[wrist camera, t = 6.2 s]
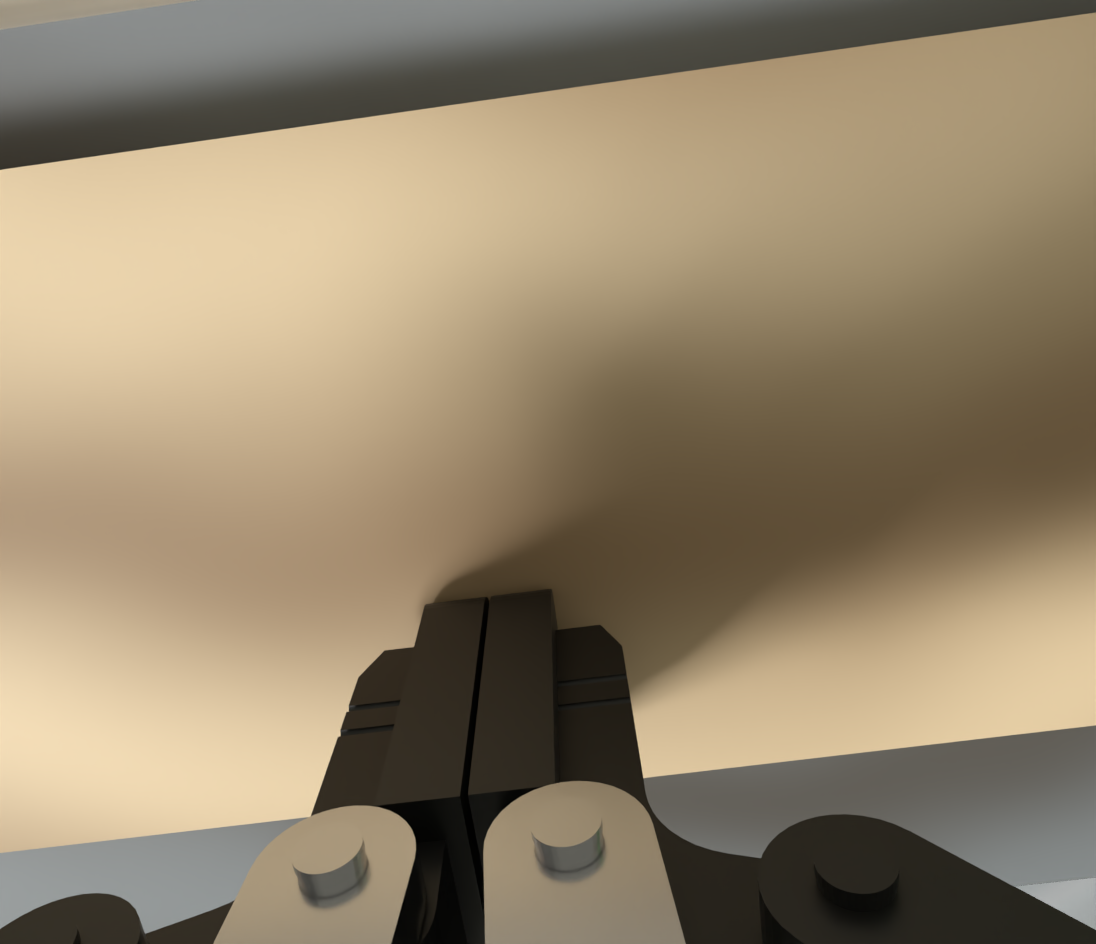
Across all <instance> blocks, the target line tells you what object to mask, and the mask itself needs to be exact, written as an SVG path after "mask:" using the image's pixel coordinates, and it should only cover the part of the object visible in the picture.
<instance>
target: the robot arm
mask: <svg viewBox="0 0 1096 944" xmlns="http://www.w3.org/2000/svg"><path fill="white" fill-rule="evenodd" d="M340 733H341V736H340V737H338V738H337V741H336V744H335V747H334V750H333V753H332V756H331V758H330V761H329V764H328V767H327V770H326V773H325V776H324V779H323V782H322V785H321V788H320V791H319V793H318V796H317V799H316V802H315V805H314V808H313V811H312V814H311V816H310V817H308V818H306V819H304V820H302V821H300V822H298V823H296V824H295V825H293V826H291V827H290V828H288V829H286V830H285V831H284V832H282V833H281V834H280V835H278V836H277V837H276V838H275V839H274V840H273V841H272V842H270V843H269V844H268V845H267V846H266V847H265V848H264V850H263V851H262V852H261V853H260V854H259V856H258V857H257V858H256V860H255V862H254V863H253V865H252V867H251V868H250V870H249V872H248V874H247V876H246V878H245V880H244V882H243V884H242V886H241V888H240V890H239V892H238V894H237V896H236V898H235V900H234V901H232V902H230V903H228V904H225V905H223V906H221V907H218V908H216V909H213V910H211V911H208V912H205V913H202V914H199V915H197V916H194V917H191V918H188V919H185V920H183V921H180V922H177V923H174V924H171V925H169V926H166V927H163V928H160V929H157V930H155V931H152V932H149V933H146V934H145V932H144V929H143V927H142V924H141V921H140V918H139V916H138V914H137V911H136V909H135V908H134V907H133V906H132V905H131V904H130V903H129V902H128V901H126V900H124V899H123V898H121V897H118V896H115V895H111V894H103V893H90V894H80V895H75V896H70V897H66V898H63V899H60V900H56V901H53V902H50V903H48V904H45V905H43V906H41V907H38V908H36V909H34V910H32V911H30V912H28V913H26V914H24V915H22V916H20V917H18V918H17V919H15V920H14V921H12V922H10V923H9V924H7V925H5V926H4V927H2V928H1V929H0V944H1096V930H1095V929H1093V928H1091V927H1089V926H1087V925H1085V924H1083V923H1081V922H1080V921H1078V920H1076V919H1074V918H1072V917H1070V916H1068V915H1066V914H1065V913H1063V912H1061V911H1059V910H1057V909H1055V908H1053V907H1051V906H1050V905H1048V904H1046V903H1044V902H1042V901H1040V900H1038V899H1036V898H1035V897H1033V896H1031V895H1029V894H1027V893H1025V892H1023V891H1021V890H1020V889H1018V888H1016V887H1014V886H1012V885H1010V884H1008V883H1006V882H1004V881H1003V880H1001V879H999V878H997V877H995V876H993V875H991V874H989V873H988V872H986V871H984V870H982V869H980V868H978V867H976V866H974V865H973V864H971V863H969V862H967V861H965V860H963V859H961V858H959V857H958V856H956V855H954V854H952V853H950V852H948V851H946V850H944V849H943V848H941V847H939V846H937V845H935V844H933V843H931V842H929V841H928V840H926V839H924V838H922V837H920V836H918V835H916V834H914V833H913V832H911V831H909V830H906V829H904V828H902V827H900V826H898V825H896V824H893V823H890V822H887V821H884V820H880V819H876V818H872V817H867V816H861V815H850V814H836V815H825V816H818V817H814V818H810V819H807V820H803V821H801V822H798V823H796V824H794V825H792V826H790V827H788V828H787V829H785V830H784V831H782V832H781V833H779V834H778V835H777V836H776V837H775V838H774V839H773V840H772V841H771V842H770V843H769V844H768V846H767V848H766V849H765V851H764V852H763V854H762V857H761V858H756V857H749V856H742V855H735V854H728V853H723V852H719V851H714V850H710V849H707V848H704V847H701V846H698V845H695V844H693V843H691V842H689V841H687V840H685V839H683V838H681V837H679V836H678V835H676V834H675V833H673V832H672V831H670V830H669V829H668V828H667V827H666V826H665V825H664V824H663V823H661V821H660V820H659V819H658V818H657V816H656V815H655V814H654V813H653V811H652V809H651V807H650V805H649V803H648V799H647V796H646V792H645V785H644V779H643V773H642V767H641V760H640V754H639V748H638V742H637V735H636V729H635V723H634V717H633V710H632V704H631V698H630V692H629V685H628V679H627V673H626V667H625V660H624V654H623V648H622V645H621V644H620V643H619V642H618V641H617V640H616V639H615V638H614V637H613V636H612V635H611V634H610V633H608V632H607V631H606V630H605V629H604V628H603V627H602V626H601V625H593V626H585V627H576V628H568V629H559V630H558V626H557V619H556V612H555V605H554V598H553V592H552V589H545V590H536V591H528V592H520V593H511V594H503V595H495V596H491V598H490V604H489V600H488V598H487V597H480V598H472V599H463V600H455V601H447V602H438V603H430V604H426V605H425V606H424V609H423V613H422V617H421V621H420V625H419V629H418V633H417V637H416V641H415V645H414V647H409V648H401V649H393V650H384V651H383V653H382V654H381V655H380V656H379V657H378V658H377V659H376V660H375V661H374V662H373V663H372V664H371V665H370V666H369V667H368V668H367V669H366V670H365V671H364V672H363V673H362V674H361V675H360V676H359V677H358V680H357V683H356V686H355V689H354V691H353V694H352V697H351V700H350V703H349V712H346V715H345V718H344V721H343V724H342V726H341V729H340Z"/></svg>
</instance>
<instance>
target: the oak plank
mask: <svg viewBox="0 0 1096 944" xmlns="http://www.w3.org/2000/svg"><path fill="white" fill-rule="evenodd" d="M545 589H552V592H553V598H554V605H555V612H556V619H557V626H558V630H559V629H568V628H576V627H585V626H593V625H601V626H602V627H603V628H604V629H605V630H606V631H607V632H608V633H610V634H611V635H612V636H613V637H614V638H615V639H616V640H617V641H618V642H619V643H620V644H621V645H622V648H623V654H624V660H625V667H626V673H627V679H628V685H629V692H630V698H631V704H632V710H633V717H634V723H635V729H636V735H637V742H638V748H639V754H640V760H641V767H642V773H643V778H648V777H657V776H665V775H674V774H683V773H691V772H700V771H708V770H717V769H725V768H734V767H743V766H751V765H760V764H768V763H777V762H786V761H794V760H803V759H811V758H820V757H828V756H837V755H846V754H854V753H863V752H871V751H880V750H889V749H897V748H906V747H914V746H923V745H931V744H940V743H949V742H957V741H966V740H974V739H983V738H992V737H1000V736H1009V735H1017V734H1026V733H1035V732H1043V731H1052V730H1060V729H1069V728H1077V727H1086V726H1095V725H1096V13H1089V14H1082V15H1075V16H1068V17H1061V18H1054V19H1048V20H1041V21H1034V22H1027V23H1020V24H1013V25H1006V26H999V27H992V28H985V29H978V30H971V31H964V32H957V33H950V34H943V35H936V36H929V37H922V38H915V39H908V40H901V41H894V42H887V43H880V44H873V45H866V46H860V47H853V48H846V49H839V50H832V51H825V52H818V53H811V54H804V55H797V56H790V57H783V58H776V59H769V60H762V61H755V62H748V63H741V64H734V65H727V66H720V67H713V68H706V69H699V70H692V71H685V72H678V73H672V74H665V75H658V76H651V77H644V78H637V79H630V80H623V81H616V82H609V83H602V84H595V85H588V86H581V87H574V88H567V89H560V90H553V91H546V92H539V93H532V94H525V95H518V96H511V97H504V98H497V99H490V100H483V101H477V102H470V103H463V104H456V105H449V106H442V107H435V108H428V109H421V110H414V111H407V112H400V113H393V114H386V115H379V116H372V117H365V118H358V119H351V120H344V121H337V122H330V123H323V124H316V125H309V126H302V127H295V128H289V129H282V130H275V131H268V132H261V133H254V134H247V135H240V136H233V137H226V138H219V139H212V140H205V141H198V142H191V143H184V144H177V145H170V146H163V147H156V148H149V149H142V150H135V151H128V152H121V153H114V154H107V155H100V156H94V157H87V158H80V159H73V160H66V161H59V162H52V163H45V164H38V165H31V166H24V167H17V168H10V169H3V170H0V853H4V852H13V851H21V850H30V849H39V848H47V847H56V846H64V845H73V844H81V843H90V842H99V841H107V840H116V839H124V838H133V837H142V836H150V835H159V834H167V833H176V832H185V831H193V830H202V829H210V828H219V827H227V826H236V825H245V824H253V823H262V822H270V821H279V820H288V819H296V818H305V817H310V816H311V814H312V811H313V808H314V805H315V802H316V799H317V796H318V793H319V791H320V788H321V785H322V782H323V779H324V776H325V773H326V770H327V767H328V764H329V761H330V758H331V756H332V753H333V750H334V747H335V744H336V741H337V738H338V737H340V736H341V733H340V729H341V726H342V724H343V721H344V718H345V715H346V712H349V703H350V700H351V697H352V694H353V691H354V689H355V686H356V683H357V680H358V677H359V676H360V675H361V674H362V673H363V672H364V671H365V670H366V669H367V668H368V667H369V666H370V665H371V664H372V663H373V662H374V661H375V660H376V659H377V658H378V657H379V656H380V655H381V654H382V653H383V651H384V650H393V649H401V648H409V647H414V645H415V641H416V637H417V633H418V629H419V625H420V621H421V617H422V613H423V609H424V606H425V605H426V604H430V603H438V602H447V601H455V600H463V599H472V598H480V597H487V598H488V600H489V604H490V598H491V596H495V595H503V594H511V593H520V592H528V591H536V590H545Z"/></svg>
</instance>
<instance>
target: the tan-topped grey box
mask: <svg viewBox="0 0 1096 944" xmlns="http://www.w3.org/2000/svg"><path fill="white" fill-rule="evenodd" d="M1089 13H1096V0H0V170H3V169H10V168H17V167H24V166H31V165H38V164H45V163H52V162H59V161H66V160H73V159H80V158H87V157H94V156H100V155H107V154H114V153H121V152H128V151H135V150H142V149H149V148H156V147H163V146H170V145H177V144H184V143H191V142H198V141H205V140H212V139H219V138H226V137H233V136H240V135H247V134H254V133H261V132H268V131H275V130H282V129H289V128H295V127H302V126H309V125H316V124H323V123H330V122H337V121H344V120H351V119H358V118H365V117H372V116H379V115H386V114H393V113H400V112H407V111H414V110H421V109H428V108H435V107H442V106H449V105H456V104H463V103H470V102H477V101H483V100H490V99H497V98H504V97H511V96H518V95H525V94H532V93H539V92H546V91H553V90H560V89H567V88H574V87H581V86H588V85H595V84H602V83H609V82H616V81H623V80H630V79H637V78H644V77H651V76H658V75H665V74H672V73H678V72H685V71H692V70H699V69H706V68H713V67H720V66H727V65H734V64H741V63H748V62H755V61H762V60H769V59H776V58H783V57H790V56H797V55H804V54H811V53H818V52H825V51H832V50H839V49H846V48H853V47H860V46H866V45H873V44H880V43H887V42H894V41H901V40H908V39H915V38H922V37H929V36H936V35H943V34H950V33H957V32H964V31H971V30H978V29H985V28H992V27H999V26H1006V25H1013V24H1020V23H1027V22H1034V21H1041V20H1048V19H1054V18H1061V17H1068V16H1075V15H1082V14H1089ZM643 779H644V785H645V792H646V796H647V799H648V803H649V805H650V807H651V809H652V811H653V813H654V814H655V815H656V816H657V818H658V819H659V820H660V821H661V823H663V824H664V825H665V826H666V827H667V828H668V829H669V830H670V831H672V832H673V833H675V834H676V835H678V836H679V837H681V838H683V839H685V840H687V841H689V842H691V843H693V844H695V845H698V846H701V847H704V848H707V849H710V850H714V851H719V852H723V853H728V854H735V855H742V856H749V857H756V858H761V857H762V854H763V852H764V851H765V849H766V848H767V846H768V844H769V843H770V842H771V841H772V840H773V839H774V838H775V837H776V836H777V835H778V834H779V833H781V832H782V831H784V830H785V829H787V828H788V827H790V826H792V825H794V824H796V823H798V822H801V821H803V820H807V819H810V818H814V817H818V816H825V815H836V814H850V815H861V816H867V817H872V818H876V819H880V820H884V821H887V822H890V823H893V824H896V825H898V826H900V827H902V828H904V829H906V830H909V831H911V832H913V833H914V834H916V835H918V836H920V837H922V838H924V839H926V840H928V841H929V842H931V843H933V844H935V845H937V846H939V847H941V848H943V849H944V850H946V851H948V852H950V853H952V854H954V855H956V856H958V857H959V858H961V859H963V860H965V861H967V862H969V863H971V864H973V865H974V866H976V867H978V868H980V869H982V870H984V871H986V872H988V873H989V874H991V875H993V876H995V877H997V878H999V879H1001V880H1003V881H1004V882H1006V883H1008V884H1010V885H1012V886H1014V887H1015V886H1024V885H1033V884H1042V883H1051V882H1060V881H1069V880H1078V879H1087V878H1096V725H1095V726H1086V727H1077V728H1069V729H1060V730H1052V731H1043V732H1035V733H1026V734H1017V735H1009V736H1000V737H992V738H983V739H974V740H966V741H957V742H949V743H940V744H931V745H923V746H914V747H906V748H897V749H889V750H880V751H871V752H863V753H854V754H846V755H837V756H828V757H820V758H811V759H803V760H794V761H786V762H777V763H768V764H760V765H751V766H743V767H734V768H725V769H717V770H708V771H700V772H691V773H683V774H674V775H665V776H657V777H648V778H643ZM306 818H308V817H305V818H296V819H288V820H279V821H270V822H262V823H253V824H245V825H236V826H227V827H219V828H210V829H202V830H193V831H185V832H176V833H167V834H159V835H150V836H142V837H133V838H124V839H116V840H107V841H99V842H90V843H81V844H73V845H64V846H56V847H47V848H39V849H30V850H21V851H13V852H4V853H0V929H1V928H2V927H4V926H5V925H7V924H9V923H10V922H12V921H14V920H15V919H17V918H18V917H20V916H22V915H24V914H26V913H28V912H30V911H32V910H34V909H36V908H38V907H41V906H43V905H45V904H48V903H50V902H53V901H56V900H60V899H63V898H66V897H70V896H75V895H80V894H90V893H103V894H111V895H115V896H118V897H121V898H123V899H124V900H126V901H128V902H129V903H130V904H131V905H132V906H133V907H134V908H135V909H136V911H137V914H138V916H139V918H140V921H141V924H142V927H143V929H144V932H145V934H146V933H149V932H152V931H155V930H157V929H160V928H163V927H166V926H169V925H171V924H174V923H177V922H180V921H183V920H185V919H188V918H191V917H194V916H197V915H199V914H202V913H205V912H208V911H211V910H213V909H216V908H218V907H221V906H223V905H225V904H228V903H230V902H232V901H234V900H235V898H236V896H237V894H238V892H239V890H240V888H241V886H242V884H243V882H244V880H245V878H246V876H247V874H248V872H249V870H250V868H251V867H252V865H253V863H254V862H255V860H256V858H257V857H258V856H259V854H260V853H261V852H262V851H263V850H264V848H265V847H266V846H267V845H268V844H269V843H270V842H272V841H273V840H274V839H275V838H276V837H277V836H278V835H280V834H281V833H282V832H284V831H285V830H286V829H288V828H290V827H291V826H293V825H295V824H296V823H298V822H300V821H302V820H304V819H306Z"/></svg>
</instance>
